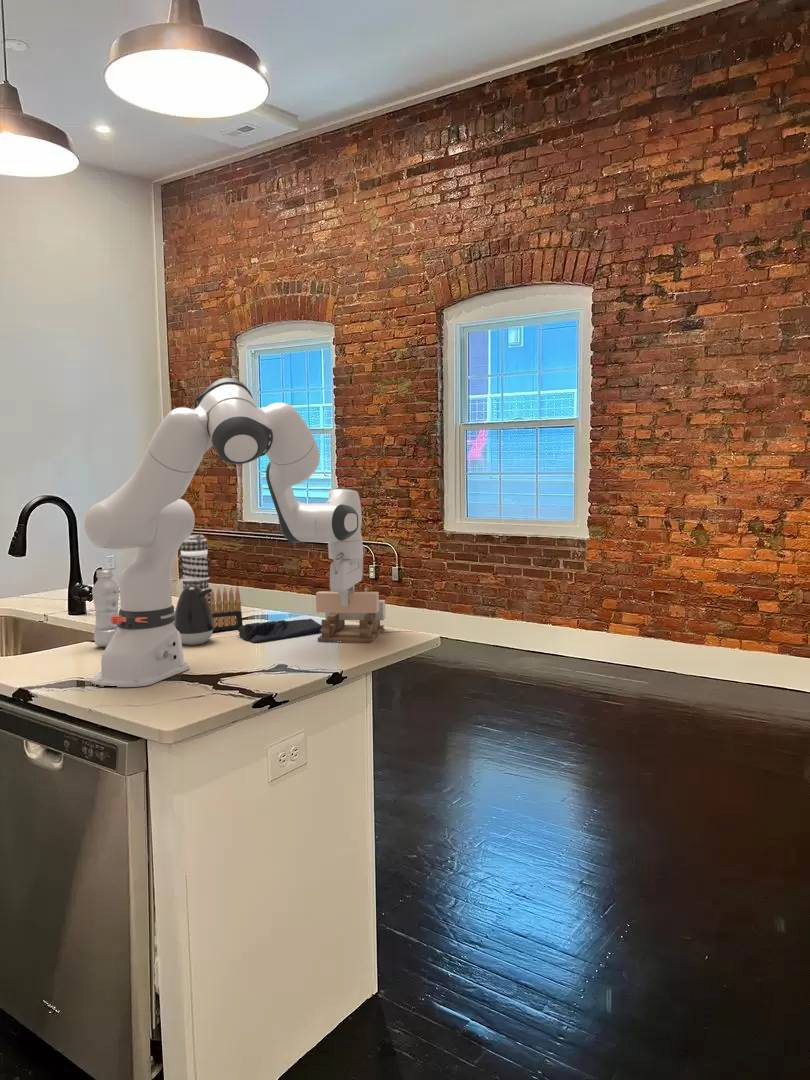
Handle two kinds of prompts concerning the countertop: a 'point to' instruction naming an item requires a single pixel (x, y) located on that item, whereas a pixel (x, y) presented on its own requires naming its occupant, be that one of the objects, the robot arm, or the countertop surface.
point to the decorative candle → (195, 562)
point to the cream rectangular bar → (363, 614)
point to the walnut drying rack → (350, 629)
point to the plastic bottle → (105, 606)
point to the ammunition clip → (226, 610)
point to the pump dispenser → (194, 616)
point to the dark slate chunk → (277, 630)
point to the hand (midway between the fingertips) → (347, 604)
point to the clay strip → (357, 602)
